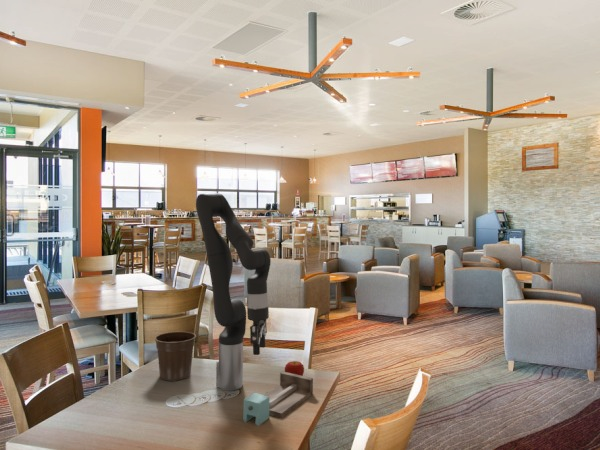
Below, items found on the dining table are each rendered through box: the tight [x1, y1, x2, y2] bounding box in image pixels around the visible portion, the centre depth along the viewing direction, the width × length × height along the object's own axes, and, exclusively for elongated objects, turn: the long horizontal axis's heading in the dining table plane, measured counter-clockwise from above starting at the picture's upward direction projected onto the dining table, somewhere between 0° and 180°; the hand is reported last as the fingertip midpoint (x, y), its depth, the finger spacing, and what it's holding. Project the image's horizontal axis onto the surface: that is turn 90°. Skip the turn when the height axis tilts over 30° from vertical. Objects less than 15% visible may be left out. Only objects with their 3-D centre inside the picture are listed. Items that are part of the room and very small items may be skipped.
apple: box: [284, 360, 305, 376], centre depth 177 cm, size 8×8×8 cm
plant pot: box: [154, 331, 197, 382], centre depth 180 cm, size 16×16×16 cm
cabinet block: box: [242, 392, 270, 426], centre depth 143 cm, size 6×7×7 cm
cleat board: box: [264, 371, 314, 419], centre depth 157 cm, size 13×22×6 cm, turn 151°
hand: (259, 350), depth 157 cm, fingers open, 8 cm apart
